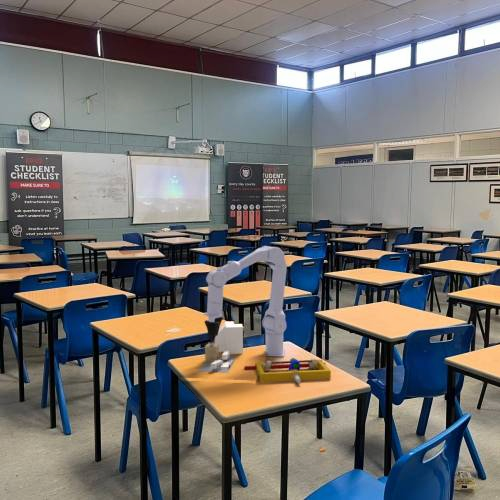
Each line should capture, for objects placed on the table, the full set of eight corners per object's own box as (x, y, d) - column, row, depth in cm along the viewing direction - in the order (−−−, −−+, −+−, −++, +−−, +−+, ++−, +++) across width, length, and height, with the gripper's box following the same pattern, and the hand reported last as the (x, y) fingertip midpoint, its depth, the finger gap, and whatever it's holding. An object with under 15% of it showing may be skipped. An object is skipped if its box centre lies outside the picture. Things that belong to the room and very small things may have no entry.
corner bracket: (243, 356, 206) (242, 326, 205) (214, 357, 205) (214, 327, 205) (241, 349, 217) (241, 321, 216) (214, 349, 216) (214, 321, 215)
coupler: (207, 358, 199) (207, 342, 199) (218, 359, 199) (218, 342, 198) (205, 362, 195) (204, 345, 194) (216, 362, 194) (216, 345, 194)
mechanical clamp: (243, 355, 187) (323, 351, 191) (244, 371, 188) (323, 367, 191) (249, 370, 169) (337, 366, 173) (250, 389, 170) (337, 384, 173)
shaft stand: (209, 358, 203) (209, 349, 202) (236, 359, 201) (236, 350, 201) (197, 374, 184) (197, 363, 184) (227, 375, 182) (227, 364, 182)
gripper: (207, 298, 202) (205, 333, 203) (201, 304, 188) (199, 340, 188) (225, 300, 201) (223, 334, 202) (220, 305, 187) (218, 342, 188)
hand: (213, 337), depth 195 cm, fingers open, 7 cm apart
